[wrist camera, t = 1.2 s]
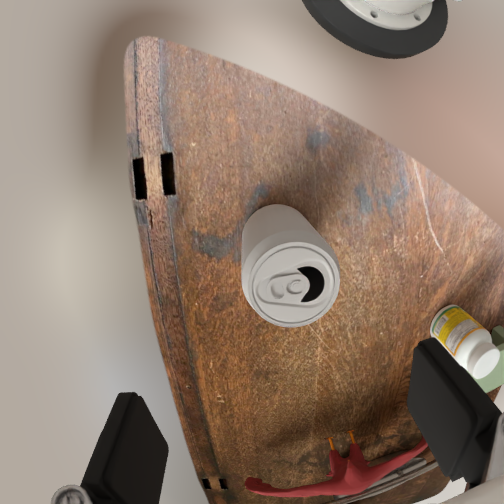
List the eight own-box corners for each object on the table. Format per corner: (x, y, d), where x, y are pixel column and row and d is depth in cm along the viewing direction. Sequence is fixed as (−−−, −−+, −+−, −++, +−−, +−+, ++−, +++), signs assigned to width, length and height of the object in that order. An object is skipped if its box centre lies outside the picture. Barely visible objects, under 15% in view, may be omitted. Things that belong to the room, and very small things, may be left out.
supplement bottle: (427, 313, 34) (469, 357, 25) (461, 296, 34) (506, 333, 25) (429, 347, 36) (466, 391, 27) (462, 330, 35) (501, 369, 26)
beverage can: (312, 262, 32) (348, 323, 20) (247, 272, 32) (250, 340, 20) (305, 198, 30) (343, 228, 18) (236, 208, 30) (233, 245, 18)
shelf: (499, 324, 36) (519, 341, 31) (490, 364, 38) (507, 381, 33) (424, 355, 36) (441, 377, 31) (418, 395, 38) (432, 418, 34)
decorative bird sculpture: (416, 396, 44) (451, 398, 30) (429, 444, 40) (465, 460, 26) (251, 448, 46) (228, 470, 32) (265, 496, 42) (247, 530, 28)
